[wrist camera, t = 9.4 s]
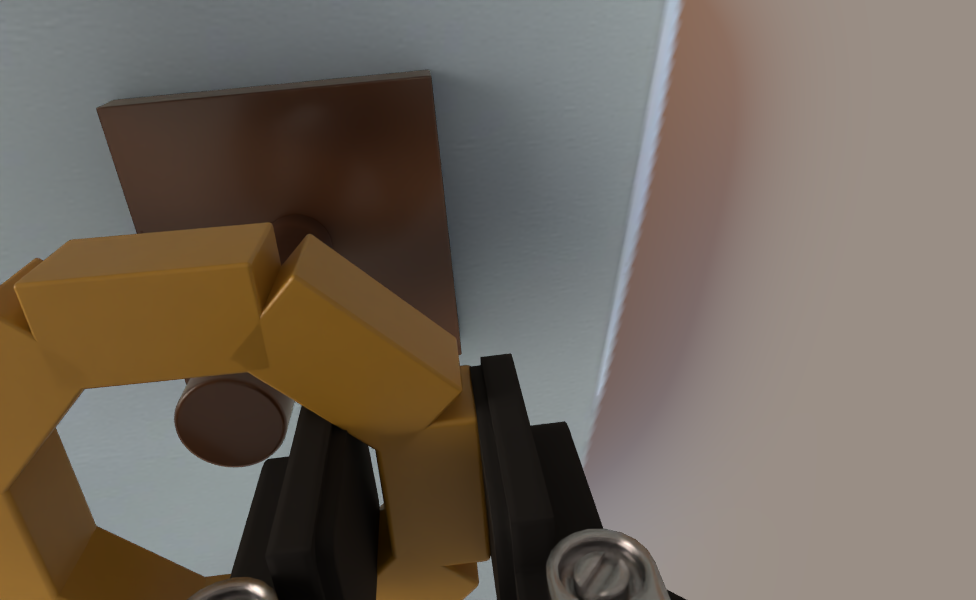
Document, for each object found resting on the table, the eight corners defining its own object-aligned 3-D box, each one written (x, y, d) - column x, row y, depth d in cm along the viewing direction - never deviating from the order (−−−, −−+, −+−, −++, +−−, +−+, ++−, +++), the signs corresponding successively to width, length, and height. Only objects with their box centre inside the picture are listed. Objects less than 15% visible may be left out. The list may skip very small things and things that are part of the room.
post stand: (111, 99, 19) (-149, 221, 10) (429, 69, 20) (449, 158, 11) (197, 369, 23) (63, 628, 14) (459, 337, 24) (492, 568, 15)
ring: (-135, 256, 10) (-229, 306, 8) (459, 204, 10) (467, 243, 9) (62, 654, 13) (21, 736, 12) (490, 600, 14) (500, 672, 13)
